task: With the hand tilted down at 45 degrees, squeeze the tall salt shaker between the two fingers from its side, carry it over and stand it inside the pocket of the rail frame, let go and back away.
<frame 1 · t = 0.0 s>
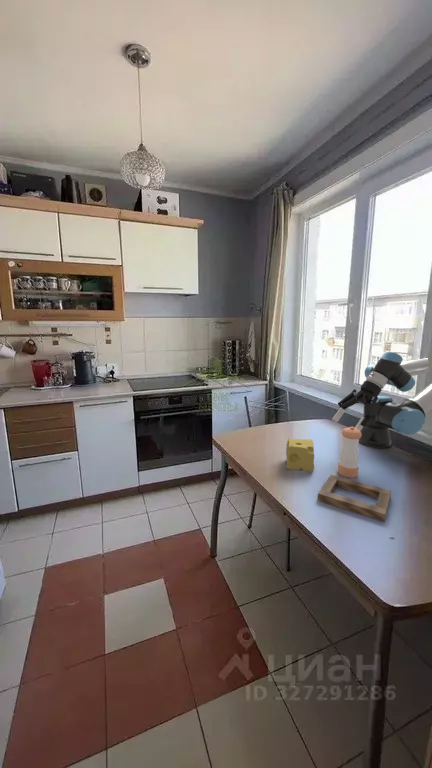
hand: (344, 426, 132), 15 cm above the table, tool tilted 35°, fingers open, 13 cm apart
cheese: (299, 465, 130), on the table
salt shaker: (347, 473, 124), on the table
rail frame: (354, 498, 106), on the table
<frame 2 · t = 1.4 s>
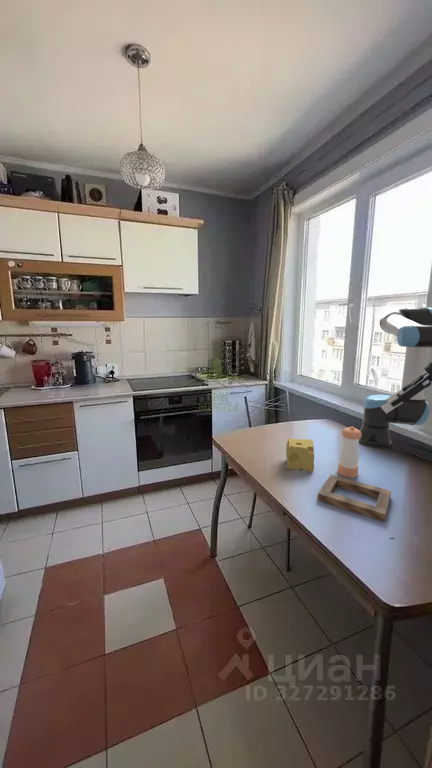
hand: (385, 406, 114), 29 cm above the table, tool tilted 45°, fingers open, 13 cm apart
nothing on the table moved.
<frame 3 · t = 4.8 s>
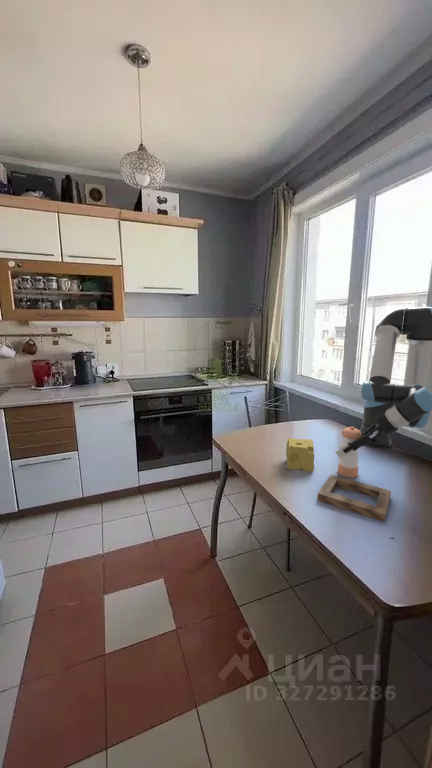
hand: (339, 452, 125), 8 cm above the table, tool tilted 45°, fingers closed on salt shaker, 5 cm apart
salt shaker: (347, 473, 124), on the table, touching gripper
everything else where it was.
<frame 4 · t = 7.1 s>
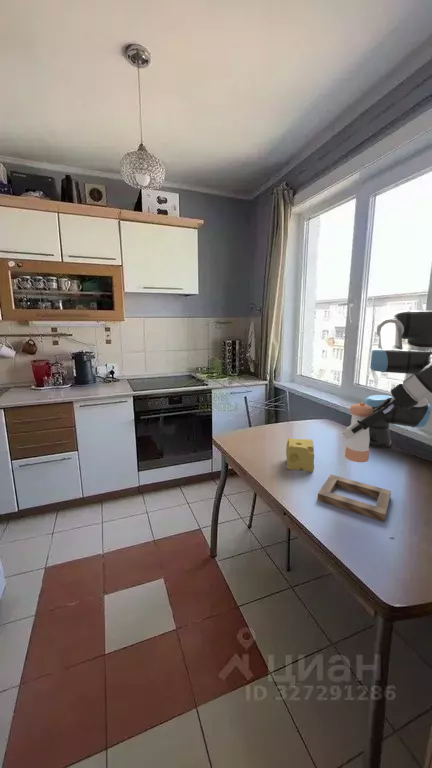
hand: (347, 433, 106), 22 cm above the table, tool tilted 45°, fingers closed on salt shaker, 5 cm apart
salt shaker: (356, 458, 106), point 14 cm above the table, touching gripper
everything else where it was.
when the fingers open (9 cm above the table, at t = 9.7 s): salt shaker drops 1 cm, resting in rail frame.
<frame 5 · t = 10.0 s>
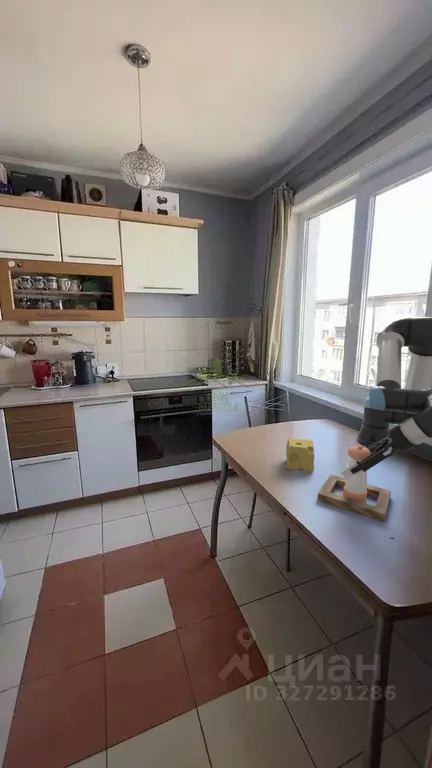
hand: (347, 469, 106), 10 cm above the table, tool tilted 45°, fingers open, 10 cm apart
salt shaker: (354, 499, 106), resting in rail frame
everything else where it was.
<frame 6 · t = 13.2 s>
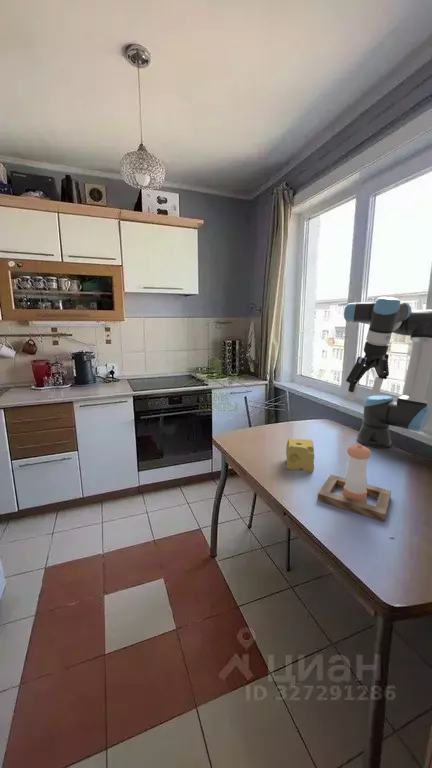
hand: (363, 396, 121), 30 cm above the table, tool pointing down, fingers open, 13 cm apart
nothing on the table moved.
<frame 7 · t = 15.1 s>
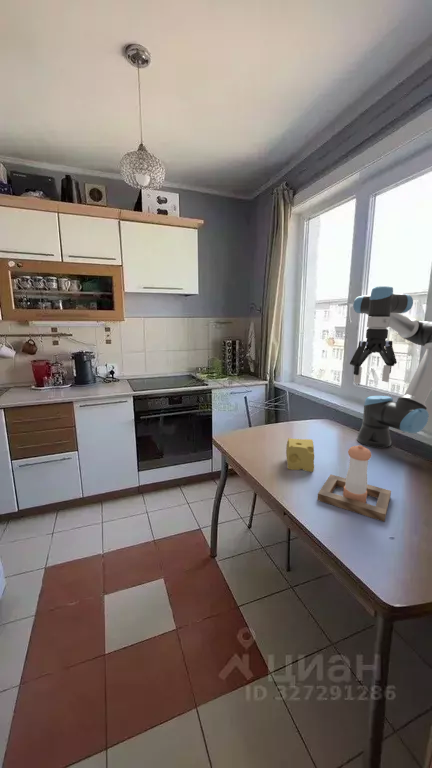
hand: (371, 382, 126), 35 cm above the table, tool pointing down, fingers open, 13 cm apart
nothing on the table moved.
at the end: salt shaker inside the target area on the rail frame (0.1 cm from its centre), point 0.0 cm above the rail frame's base; salt shaker tilted 0°; the gripper is holding nothing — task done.
